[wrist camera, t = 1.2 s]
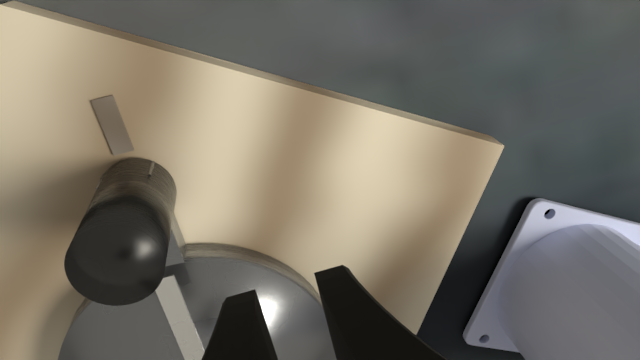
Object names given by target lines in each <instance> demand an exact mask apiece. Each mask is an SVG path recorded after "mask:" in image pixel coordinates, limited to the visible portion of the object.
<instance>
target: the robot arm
mask: <svg viewBox="0 0 640 360" xmlns="http://www.w3.org/2000/svg"><path fill="white" fill-rule="evenodd" d="M549 209H550V211H549V213H548V214H546V215H544V214H545V212H546V211H547V210H549ZM314 274H315V278H316V282H317V286H318V290H319V294H320V298H321V302H322V306H323V309H324V313H325V317H326V321H327V325H328V329H329V333H330V337H331V340H332V344H333V348H334V352H335V355H336V359H337V360H448V359H447V358H445V357H444V356H442V355H441V354H440V353H438V352H437V351H436V350H434V349H433V348H432V347H430V346H429V345H428V344H426V343H425V342H424V341H423V340H421V339H420V338H419V337H417V336H416V335H415V334H414V333H412V332H411V331H410V330H409V329H408V328H406V327H405V326H404V325H403V324H402V323H401V322H399V321H398V320H397V319H396V318H395V317H394V316H393V315H392V314H391V313H390V312H388V311H387V310H386V309H385V308H384V307H383V306H382V305H381V304H380V303H379V302H378V301H377V300H376V299H375V298H374V297H373V296H372V295H371V294H370V293H369V292H368V291H367V290H366V289H365V288H364V287H363V286H362V284H361V283H360V282H359V281H358V280H357V279H356V277H355V276H354V275H353V274H352V272H351V271H350V269H349V268H347V267H346V266H344V265H340V266H337V267H333V268H329V269H326V270H322V271H319V272H315V273H314ZM483 335H484V337H482V338H480V337H481V336H483ZM463 338H464V340H465V341H466V342H467V344H469V345H473V346H480V347H486V348H493V349H500V350H506V351H513V352H519V353H521V355H522V356H523V357H524V359H525V360H640V223H637V222H633V221H629V220H625V219H621V218H617V217H613V216H609V215H605V214H601V213H597V212H593V211H589V210H585V209H581V208H577V207H574V206H570V205H566V204H562V203H558V202H554V201H550V200H546V199H542V198H537V199H534V200H532V201H531V202H529V204H528V205H527V207H526V209H525V211H524V213H523V215H522V217H521V219H520V221H519V223H518V225H517V227H516V229H515V231H514V233H513V235H512V237H511V239H510V241H509V243H508V245H507V247H506V249H505V250H504V252H503V254H502V256H501V258H500V260H499V262H498V264H497V266H496V268H495V270H494V272H493V274H492V276H491V278H490V280H489V282H488V284H487V286H486V288H485V290H484V292H483V294H482V296H481V298H480V300H479V302H478V304H477V306H476V308H475V310H474V312H473V314H472V316H471V318H470V320H469V322H468V324H467V326H466V328H465V330H464V332H463ZM201 360H278V358H277V355H276V352H275V348H274V345H273V342H272V339H271V336H270V333H269V330H268V327H267V324H266V321H265V317H264V314H263V311H262V308H261V305H260V302H259V299H258V296H257V293H256V290H255V289H254V290H251V291H247V292H244V293H240V294H236V295H233V296H229V297H226V299H225V300H224V302H223V303H222V307H221V310H220V313H219V316H218V319H217V321H216V324H215V327H214V330H213V332H212V335H211V338H210V340H209V343H208V345H207V348H206V350H205V352H204V355H203V357H202V359H201Z"/></svg>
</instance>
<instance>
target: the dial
mask: <svg viewBox="0 0 640 360" xmlns="http://www.w3.org/2000/svg"><path fill="white" fill-rule="evenodd" d="M176 196H177V190H176V185H175V182H174V180H173V178H172V176H171V175H170V173H169V172H168V171H167V170H166V169H165V168H164V167H162V166H161V165H159V164H158V163H156V162H155V161H151V160H148V159H143V158H129V159H125V160H122V161H119V162H117V163H115V164H114V165H112V166H111V167H110V168H109V169H108V170H107V171H106V172H105V173H104V174H102V176H101V178H100V180H99V182H98V185H97V187H96V192H95V194H94V196H93V198H92V200H91V202H90V204H89V206H88V208H87V210H86V212H85V214H84V216H83V219H82V221H81V223H80V225H79V227H78V229H77V231H76V233H75V235H74V237H73V239H72V241H71V243H70V245H69V247H68V250H67V252H66V255H65V260H64V268H65V273H66V276H67V278H68V280H69V282H70V284H71V285H72V286H73V287H74V289H75V290H76V291H77V292H79V293H80V294H81V295H82V296H84V297H86V298H85V299H84V300H83V302H82V303H81V305H80V306H79V308H78V309H77V311H76V312H75V315H74V317H73V319H72V321H71V323H70V325H69V328H68V330H67V333H66V336H65V338H64V341H63V343H62V346H61V349H60V353H59V356H58V360H201V359H202V357H203V355H204V352H205V350H206V348H207V345H208V343H209V340H210V338H211V335H212V332H213V330H214V327H215V324H216V321H217V319H218V316H219V313H220V310H221V307H222V303H223V302H224V300H225V299H226V297H229V296H233V295H236V294H240V293H244V292H247V291H251V290H254V289H255V290H256V293H257V296H258V299H259V302H260V305H261V308H262V311H263V314H264V317H265V321H266V324H267V327H268V330H269V333H270V336H271V339H272V342H273V345H274V348H275V352H276V355H277V358H278V360H337V359H336V355H335V352H334V348H333V344H332V340H331V337H330V333H329V329H328V325H327V321H326V317H325V313H324V309H323V306H322V302H321V298H320V295H319V294H318V293H317V291H316V290H315V289H314V287H313V286H312V285H311V284H310V283H309V282H308V281H307V280H306V279H305V278H304V277H303V276H302V275H301V274H299V273H298V272H297V271H295V270H294V269H292V268H291V267H290V266H288V265H287V264H285V263H283V262H281V261H279V260H277V259H275V258H273V257H271V256H268V255H266V254H263V253H260V252H258V251H254V250H250V249H246V248H242V247H237V246H229V245H221V244H197V245H186V243H185V241H184V238H183V235H182V233H181V230H180V227H179V225H178V222H177V219H176V217H175V214H174V209H175V202H176Z"/></svg>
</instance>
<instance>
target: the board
mask: <svg viewBox="0 0 640 360" xmlns="http://www.w3.org/2000/svg"><path fill="white" fill-rule="evenodd" d="M503 148H504V145H503V144H501V143H500V142H498V141H497V140H496V139H494V138H493V137H491V136H489V135H486V134H482V133H479V132H475V131H472V130H468V129H465V128H461V127H458V126H454V125H450V124H447V123H443V122H440V121H436V120H433V119H429V118H426V117H422V116H419V115H415V114H412V113H408V112H405V111H401V110H398V109H394V108H391V107H387V106H383V105H380V104H376V103H373V102H369V101H366V100H362V99H359V98H355V97H352V96H348V95H345V94H341V93H338V92H334V91H331V90H327V89H324V88H320V87H316V86H313V85H309V84H306V83H302V82H299V81H295V80H292V79H288V78H285V77H281V76H278V75H274V74H271V73H267V72H264V71H260V70H257V69H253V68H249V67H246V66H242V65H239V64H235V63H232V62H228V61H225V60H221V59H218V58H214V57H211V56H207V55H204V54H200V53H197V52H193V51H190V50H186V49H183V48H179V47H175V46H172V45H168V44H165V43H161V42H158V41H154V40H151V39H147V38H144V37H140V36H137V35H133V34H130V33H126V32H123V31H119V30H116V29H112V28H108V27H105V26H101V25H98V24H94V23H91V22H87V21H84V20H80V19H77V18H73V17H70V16H66V15H63V14H59V13H56V12H52V11H49V10H45V9H41V8H38V7H34V6H31V5H27V4H24V3H20V2H17V1H10V2H7V3H3V4H0V360H58V356H59V353H60V349H61V346H62V343H63V341H64V338H65V336H66V333H67V330H68V328H69V325H70V323H71V321H72V319H73V317H74V315H75V312H76V311H77V309H78V308H79V306H80V305H81V303H82V302H83V300H84V299H85V298H86V297H84V296H82V295H81V294H80V293H79V292H77V291H76V290H75V289H74V287H73V286H72V285H71V284H70V282H69V280H68V278H67V276H66V273H65V268H64V260H65V255H66V252H67V250H68V247H69V245H70V243H71V241H72V239H73V237H74V235H75V233H76V231H77V229H78V227H79V225H80V223H81V221H82V219H83V216H84V214H85V212H86V210H87V208H88V206H89V204H90V202H91V200H92V198H93V196H94V194H95V192H96V187H97V185H98V182H99V180H100V178H101V176H102V174H104V173H105V172H106V171H107V170H108V169H109V168H110V167H111V166H112V165H114V164H115V163H117V162H119V161H122V160H125V159H129V158H143V159H148V160H151V161H155V162H156V163H158V164H159V165H161V166H162V167H164V168H165V169H166V170H167V171H168V172H169V173H170V175H171V176H172V178H173V180H174V182H175V185H176V190H177V196H176V202H175V209H174V214H175V217H176V219H177V222H178V225H179V227H180V230H181V233H182V235H183V238H184V241H185V243H186V245H197V244H221V245H229V246H237V247H242V248H246V249H250V250H254V251H258V252H260V253H263V254H266V255H268V256H271V257H273V258H275V259H277V260H279V261H281V262H283V263H285V264H287V265H288V266H290V267H291V268H292V269H294V270H295V271H297V272H298V273H299V274H301V275H302V276H303V277H304V278H305V279H306V280H307V281H308V282H309V283H310V284H311V285H312V286H313V287H314V289H315V290H316V291H317V293H318V294H319V290H318V286H317V282H316V278H315V274H314V273H315V272H319V271H322V270H326V269H329V268H333V267H337V266H340V265H344V266H346V267H347V268H349V269H350V271H351V272H352V274H353V275H354V276H355V277H356V279H357V280H358V281H359V282H360V283H361V284H362V286H363V287H364V288H365V289H366V290H367V291H368V292H369V293H370V294H371V295H372V296H373V297H374V298H375V299H376V300H377V301H378V302H379V303H380V304H381V305H382V306H383V307H384V308H385V309H386V310H387V311H388V312H390V313H391V314H392V315H393V316H394V317H395V318H396V319H397V320H398V321H399V322H401V323H402V324H403V325H404V326H405V327H406V328H408V329H409V330H410V331H411V332H412V333H414V334H415V335H416V334H417V332H418V330H419V328H420V326H421V324H422V322H423V319H424V317H425V315H426V313H427V311H428V309H429V307H430V304H431V302H432V300H433V298H434V296H435V294H436V292H437V289H438V287H439V285H440V283H441V281H442V279H443V277H444V274H445V272H446V270H447V268H448V266H449V264H450V262H451V259H452V257H453V255H454V253H455V251H456V249H457V247H458V244H459V242H460V240H461V238H462V236H463V234H464V232H465V229H466V227H467V225H468V223H469V221H470V219H471V217H472V214H473V212H474V210H475V208H476V206H477V204H478V202H479V199H480V197H481V195H482V193H483V191H484V189H485V187H486V185H487V182H488V180H489V178H490V176H491V174H492V172H493V170H494V167H495V165H496V163H497V161H498V159H499V157H500V155H501V152H502V150H503ZM319 295H320V294H319Z"/></svg>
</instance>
